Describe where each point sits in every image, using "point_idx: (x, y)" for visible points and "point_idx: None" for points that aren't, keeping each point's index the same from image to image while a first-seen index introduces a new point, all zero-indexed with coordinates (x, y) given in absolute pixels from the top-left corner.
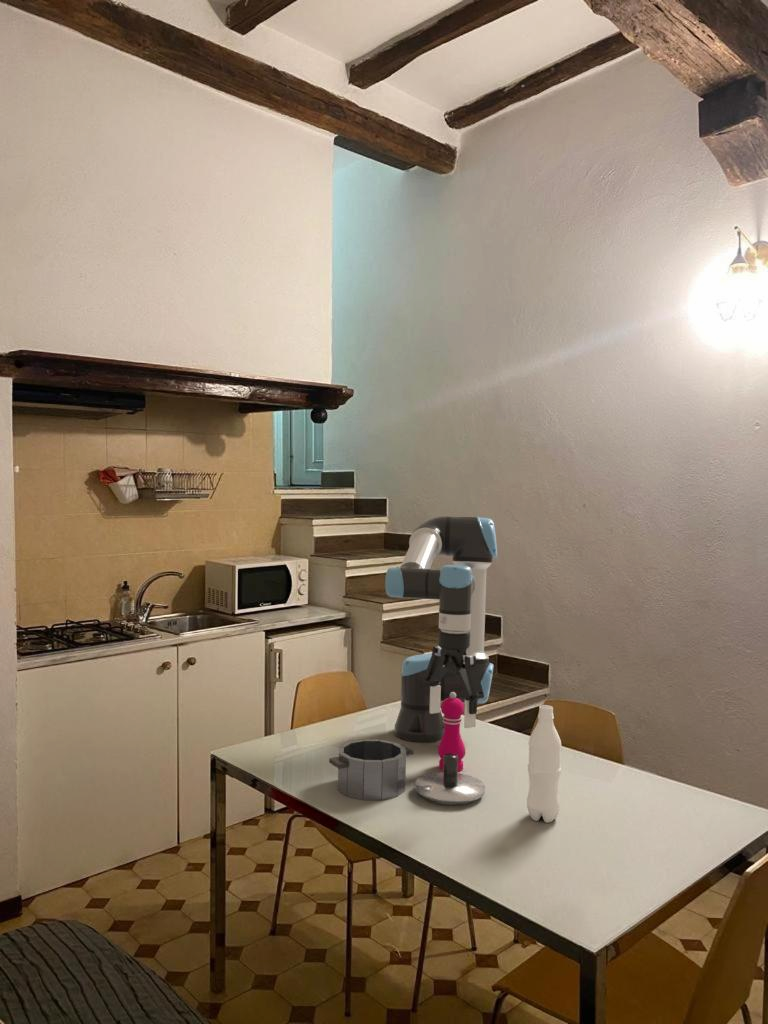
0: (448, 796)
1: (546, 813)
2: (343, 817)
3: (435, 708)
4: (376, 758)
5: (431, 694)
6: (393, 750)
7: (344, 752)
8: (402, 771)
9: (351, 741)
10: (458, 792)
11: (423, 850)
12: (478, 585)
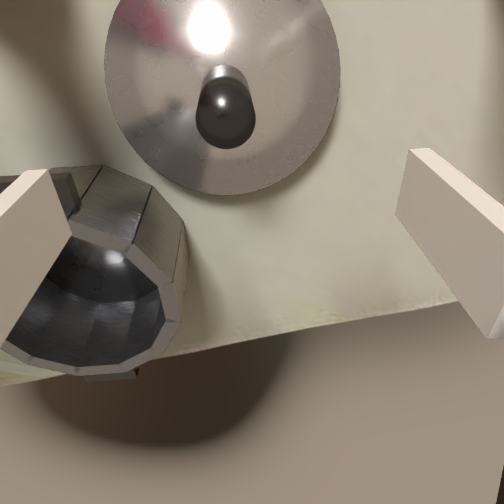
0: (298, 149)
1: None
2: (235, 336)
3: (49, 221)
4: None
5: (14, 321)
6: None
7: (35, 341)
8: (157, 231)
9: None
10: (290, 104)
11: (422, 285)
12: None
